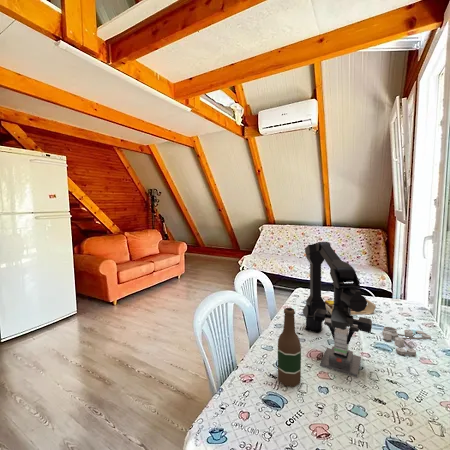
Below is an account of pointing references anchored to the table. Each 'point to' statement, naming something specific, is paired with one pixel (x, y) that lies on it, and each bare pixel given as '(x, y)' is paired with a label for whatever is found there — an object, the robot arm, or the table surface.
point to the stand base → (341, 362)
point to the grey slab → (341, 341)
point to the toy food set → (366, 311)
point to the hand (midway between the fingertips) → (341, 342)
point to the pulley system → (402, 339)
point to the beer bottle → (289, 352)
